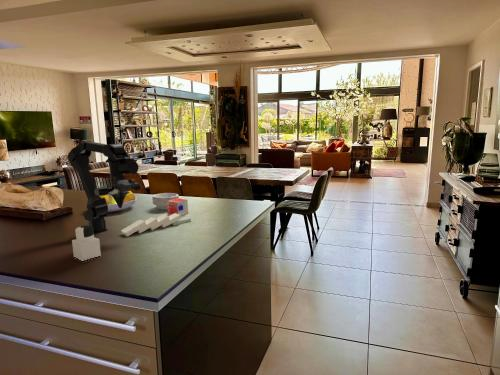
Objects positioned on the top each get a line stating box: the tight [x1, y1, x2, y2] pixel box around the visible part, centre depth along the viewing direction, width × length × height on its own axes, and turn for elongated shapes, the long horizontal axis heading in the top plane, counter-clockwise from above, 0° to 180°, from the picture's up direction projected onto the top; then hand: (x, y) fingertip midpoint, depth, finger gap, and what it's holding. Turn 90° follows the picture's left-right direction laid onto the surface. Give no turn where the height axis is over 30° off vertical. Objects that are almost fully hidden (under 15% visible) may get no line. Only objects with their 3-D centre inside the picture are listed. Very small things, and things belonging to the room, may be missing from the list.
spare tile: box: [170, 216, 192, 226], centre depth 173 cm, size 2×5×10 cm
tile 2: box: [135, 216, 158, 234], centre depth 161 cm, size 2×5×10 cm
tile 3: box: [148, 213, 170, 231], centre depth 165 cm, size 2×5×10 cm
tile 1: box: [121, 219, 146, 238], centre depth 156 cm, size 2×5×10 cm
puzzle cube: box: [166, 198, 189, 217], centre depth 188 cm, size 8×8×8 cm
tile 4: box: [159, 213, 182, 228], centre depth 169 cm, size 2×5×10 cm
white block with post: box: [71, 224, 102, 262], centre depth 128 cm, size 7×7×12 cm
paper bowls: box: [152, 192, 180, 211], centre depth 203 cm, size 15×15×8 cm
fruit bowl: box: [100, 191, 137, 213], centre depth 203 cm, size 28×27×11 cm
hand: (120, 207), depth 151 cm, fingers closed
